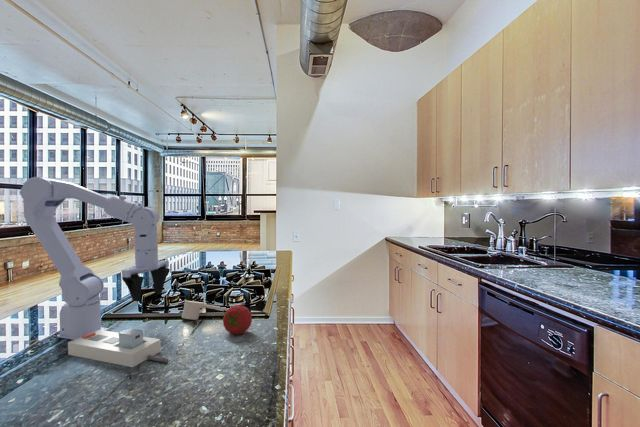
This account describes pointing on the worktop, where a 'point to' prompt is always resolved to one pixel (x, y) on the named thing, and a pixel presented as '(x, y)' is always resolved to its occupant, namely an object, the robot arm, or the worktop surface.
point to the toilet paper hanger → (196, 309)
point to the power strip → (114, 349)
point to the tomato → (237, 319)
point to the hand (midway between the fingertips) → (147, 296)
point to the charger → (130, 338)
